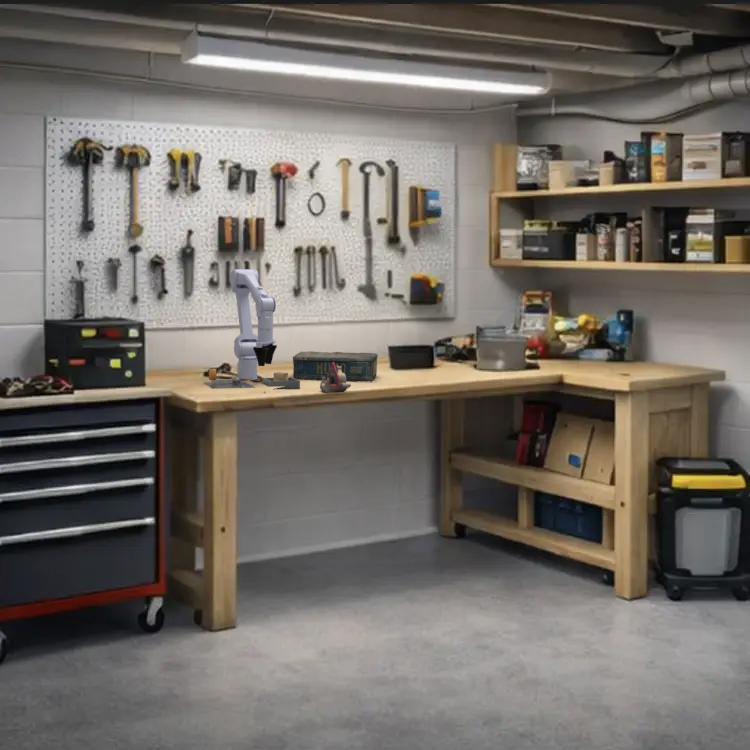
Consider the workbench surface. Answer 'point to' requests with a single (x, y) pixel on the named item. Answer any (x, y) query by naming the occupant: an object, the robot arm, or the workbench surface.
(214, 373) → the crank
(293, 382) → the tray
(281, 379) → the block
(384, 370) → the workbench surface
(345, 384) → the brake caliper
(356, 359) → the metal box
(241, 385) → the crank base
